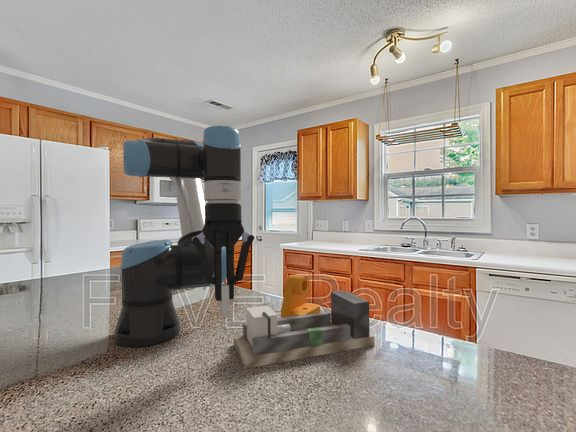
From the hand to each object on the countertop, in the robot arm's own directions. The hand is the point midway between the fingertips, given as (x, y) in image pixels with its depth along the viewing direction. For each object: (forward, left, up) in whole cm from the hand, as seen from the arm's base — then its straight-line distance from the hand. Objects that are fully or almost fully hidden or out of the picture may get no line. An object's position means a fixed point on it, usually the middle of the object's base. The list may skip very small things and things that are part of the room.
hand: (224, 315), depth 66 cm
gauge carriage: (+10, -1, -7) cm, 12 cm away
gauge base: (+18, 0, -9) cm, 20 cm away
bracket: (+25, +18, -10) cm, 32 cm away
